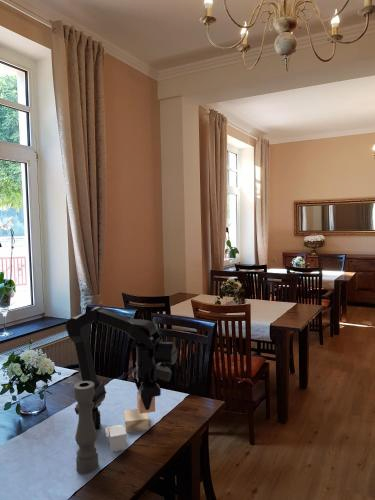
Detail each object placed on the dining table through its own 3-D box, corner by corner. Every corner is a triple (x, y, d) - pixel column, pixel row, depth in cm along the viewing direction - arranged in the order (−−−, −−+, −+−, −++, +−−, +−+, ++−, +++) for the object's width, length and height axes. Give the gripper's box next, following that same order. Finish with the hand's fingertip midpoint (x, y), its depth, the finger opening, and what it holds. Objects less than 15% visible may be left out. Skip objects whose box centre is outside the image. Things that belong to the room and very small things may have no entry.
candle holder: (87, 476, 112) (83, 391, 110) (71, 469, 115) (68, 386, 113) (102, 464, 117) (99, 383, 115) (87, 458, 120) (84, 378, 118)
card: (106, 437, 131) (106, 436, 131) (104, 428, 137) (104, 427, 137) (124, 434, 133) (124, 433, 133) (122, 425, 139) (122, 424, 139)
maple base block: (125, 432, 135) (125, 421, 134) (124, 420, 143) (124, 410, 142) (149, 429, 136) (148, 418, 136) (147, 418, 144) (146, 407, 144)
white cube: (111, 452, 123) (110, 436, 123) (109, 443, 128) (108, 428, 128) (127, 448, 125) (126, 433, 124) (124, 440, 130) (124, 425, 129)
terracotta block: (139, 413, 128) (139, 398, 127) (137, 406, 132) (137, 392, 132) (155, 411, 129) (154, 396, 129) (152, 404, 134) (151, 390, 133)
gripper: (176, 368, 123) (176, 416, 124) (163, 348, 140) (163, 390, 142) (141, 372, 119) (141, 421, 121) (131, 351, 137) (132, 394, 139)
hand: (145, 405), depth 131 cm, fingers closed on terracotta block, 5 cm apart
